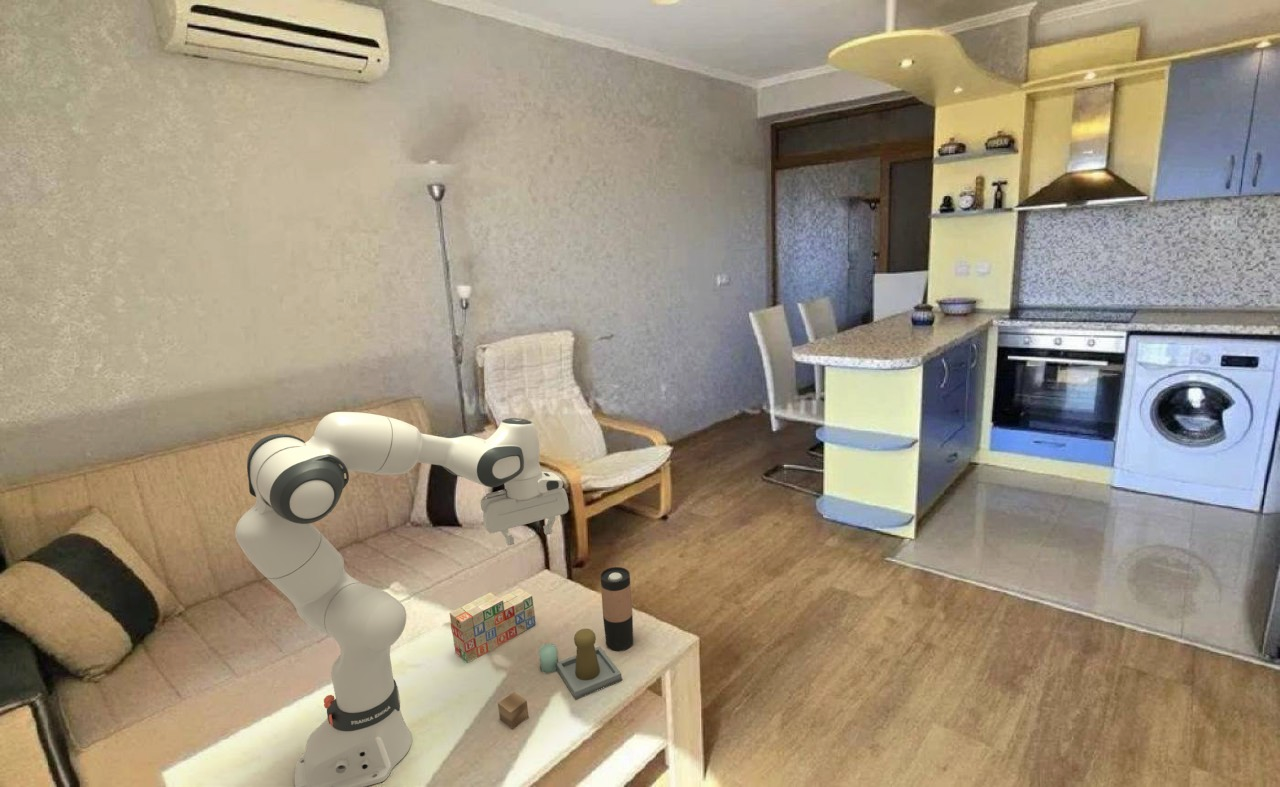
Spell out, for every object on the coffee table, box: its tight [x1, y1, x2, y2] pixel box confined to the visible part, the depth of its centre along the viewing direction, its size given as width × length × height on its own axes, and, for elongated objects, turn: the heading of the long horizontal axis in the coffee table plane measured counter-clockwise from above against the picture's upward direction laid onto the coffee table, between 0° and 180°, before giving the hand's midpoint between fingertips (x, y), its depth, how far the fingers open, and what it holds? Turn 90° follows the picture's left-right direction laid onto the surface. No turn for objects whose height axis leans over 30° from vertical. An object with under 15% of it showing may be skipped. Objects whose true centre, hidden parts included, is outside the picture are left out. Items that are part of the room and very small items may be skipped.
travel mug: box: [600, 566, 634, 652], centre depth 160 cm, size 8×8×20 cm
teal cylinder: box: [538, 643, 559, 674], centre depth 154 cm, size 4×4×5 cm
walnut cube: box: [497, 691, 529, 730], centre depth 138 cm, size 4×4×4 cm
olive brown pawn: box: [573, 628, 600, 680], centre depth 150 cm, size 6×6×11 cm
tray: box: [556, 645, 623, 700], centre depth 151 cm, size 12×12×2 cm
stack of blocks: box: [449, 587, 536, 664], centre depth 165 cm, size 21×6×12 cm, turn 134°
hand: (529, 538), depth 148 cm, fingers open, 8 cm apart
